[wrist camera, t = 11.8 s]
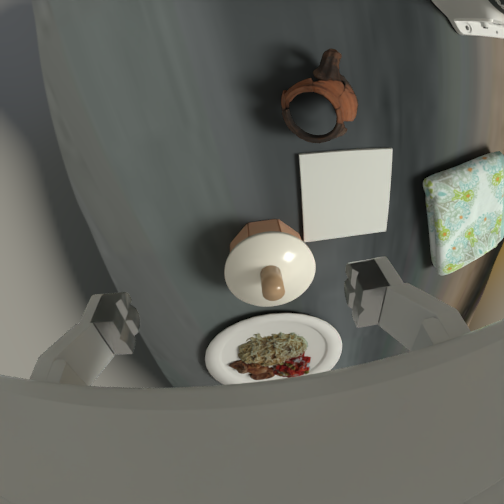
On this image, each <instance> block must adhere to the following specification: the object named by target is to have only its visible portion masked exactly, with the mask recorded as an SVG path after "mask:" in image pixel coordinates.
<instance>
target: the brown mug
mask: <svg viewBox="0 0 504 504" xmlns="http://www.w3.org/2000/svg"><path fill="white" fill-rule="evenodd" d="M341 56H342V55H341V54H340V53H339V52H338V51H337V50H335V49H329V50H327V51H325V52H324V53H323V56H322V59H321V62H320V66H319V67H318V68H317V69H315V70H314V71H313V74H314V77H315V78H317V79H318V80H320V81H317V82H313V80H312V78H308V79H305V80H303V81H300V82H298V83H296V84H295V85H293V86H292V87H290V88H289V89H288V90H284V91H283V93H282V98H281V105H282V111H283V112H282V115H283V118H284V121H285V123H286V125H287V126H288V128H289V129H290V130H291V131H292V132H293V133H294V134H296V135H297V136H298V137H299V138H301V139H303V140H305V141H308V142H312V143H321V142H326V141H330V140H331V139H334V138H337V137H339V136H342V135H344V134H345V133H346V132H347V129H346V128H345V126H344V123H343V121H353V120H354V118H355V117H356V113H357V109H358V100H357V97H356V95H355V93H354V91H353V89H352V87H351V85H350V84H349V82H348V81H347V80H346V79H345V77H344V76H342V75H341V74H340V73H339V62H340V59H341ZM303 92H315V93H318V94H320V95H322V96H324V97H325V98H327V99H328V100H329V101H330V102H331V103H332V105H333V106H334V108H335V111H336V115H337V120H336V125H335V127H334V128H333V130H332V131H330V132H329V133H327V134H324V135H312V134H309V133H307V132H305V131H303V130H302V129H300V128H299V127H298V126H297V125H296V124H295V122H294V121H293V119H292V117H291V114H290V109H289V102H291V101H292V100H293V98H294V97H295V96H297V95H298V94H300V93H303Z"/></svg>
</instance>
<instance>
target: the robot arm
mask: <svg viewBox="0 0 504 504" xmlns="http://www.w3.org/2000/svg"><path fill="white" fill-rule="evenodd" d="M432 2H433V3H434V4H435V5H436V6H437V7H438V8H439V9H440V10H441V11H442V12H443V13H444V14H445V15H446V16H447V17H448V19H449V20H450V22H451V24H452V26H453V27H454V29H455V30H456V32H457V33H458V34H460V35H472V36H484V37H494V38H502V39H504V0H432ZM465 27H466V28H465ZM346 274H347V277H348V278H347V279H346V281H345V285H344V291H345V298H346V301H347V304H348V306H349V307H351V308H352V317H353V319H354V322H355V324H356V327H357V328H360V327H365V326H371V325H376V324H379V326H380V327H381V328H383V329H384V330H385V331H386V332H388V333H389V334H390V335H391V336H393V337H394V338H395V339H396V340H398V341H399V342H400V343H401V344H402V345H404V346H405V347H406V348H407V349H409V350H410V352H407V353H404V354H400V355H396V356H393V357H389V358H385V359H381V360H377V361H373V362H368V363H364V364H360V365H355V366H351V367H346V368H341V369H336V370H331V371H326V372H320V373H315V374H309V375H303V376H296V377H290V378H283V379H276V380H268V381H259V382H250V383H241V384H230V385H217V386H201V387H178V388H120V387H98V386H91V385H92V383H93V382H94V381H95V379H96V378H97V377H98V376H99V375H100V373H101V372H102V371H103V370H104V368H105V367H106V366H107V364H108V363H109V362H110V361H111V359H112V358H113V357H114V355H116V354H133V351H134V347H135V343H136V339H135V337H134V336H135V335H136V334H137V333H138V332H139V328H140V317H139V313H138V311H137V309H136V308H135V307H134V306H132V305H131V301H132V299H131V297H130V295H129V294H128V293H126V292H120V293H107V294H97V295H93V296H92V297H91V298H90V301H89V303H88V305H87V307H86V309H85V311H84V314H83V316H82V318H81V320H80V323H79V324H75V325H74V326H73V327H72V328H71V329H70V330H68V332H66V333H65V334H64V335H63V336H62V337H61V338H59V339H58V340H57V341H56V342H55V343H54V344H53V345H52V346H51V347H49V348H48V349H47V350H46V351H45V352H44V353H43V354H42V355H41V356H40V357H39V358H38V360H37V363H36V365H35V367H34V370H33V372H32V375H31V377H30V380H29V379H23V378H17V377H11V376H5V375H0V504H504V319H502V320H500V321H497V322H495V323H492V324H490V325H488V326H485V327H483V328H480V329H478V330H475V331H472V332H471V331H470V330H469V328H468V326H467V325H466V323H465V322H464V320H463V318H462V317H461V315H460V314H459V312H458V311H457V309H455V308H453V307H451V306H449V305H448V304H446V303H444V302H442V301H440V300H438V299H437V298H435V297H433V296H431V295H429V294H427V293H426V292H424V291H422V290H420V289H418V288H416V287H414V286H412V285H410V284H409V283H403V281H402V280H401V278H400V277H399V275H398V274H397V272H396V271H395V269H394V268H393V266H392V265H391V263H390V262H389V260H388V259H387V257H385V256H383V257H378V258H373V259H369V260H363V261H357V262H351V263H347V265H346Z"/></svg>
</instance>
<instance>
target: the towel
mask: <svg viewBox="0 0 504 504" xmlns="http://www.w3.org/2000/svg"><path fill="white" fill-rule="evenodd" d="M423 189H424V191H425V194H426V199H425V200H426V208H427V218H428V228H429V238H430V252H431V260H432V263H433V266H434V267H437V272H438V275H447V274H449V273H452V272H454V271H456V270H458V269H460V268H462V267H463V266H465V265H467V264H469V263H470V262H472V261H474V260H476V259H478V258H479V257H481V256H482V255H484V254H485V253H487V252H488V251H490V250H491V249H493V248H495V247H496V246H497V244H498V243H499V242H500V241H501V240H502V239H503V236H504V155H503V154H502V153H501V152H500V151H498V152H494V153H489V154H485V155H483V156H480V157H478V158H475V159H473V160H470V161H468V162H465V163H463V164H461V165H458V166H456V167H453V168H450V169H447V170H444V171H441V172H439V173H436V174H433V175H431V176H429V177H427V178H425V179H424V181H423Z"/></svg>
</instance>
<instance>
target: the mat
mask: <svg viewBox="0 0 504 504" xmlns="http://www.w3.org/2000/svg"><path fill="white" fill-rule="evenodd" d="M299 167H300V182H301V198H302V216H303V237H304V242H310V241H318V240H325V239H332V238H339V237H347V236H354V235H361V234H369V233H376V232H383V231H386V227H387V218H388V208H389V197H390V185H391V169H392V148H370V149H352V150H337V151H324V152H312V153H302V154H299Z"/></svg>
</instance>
